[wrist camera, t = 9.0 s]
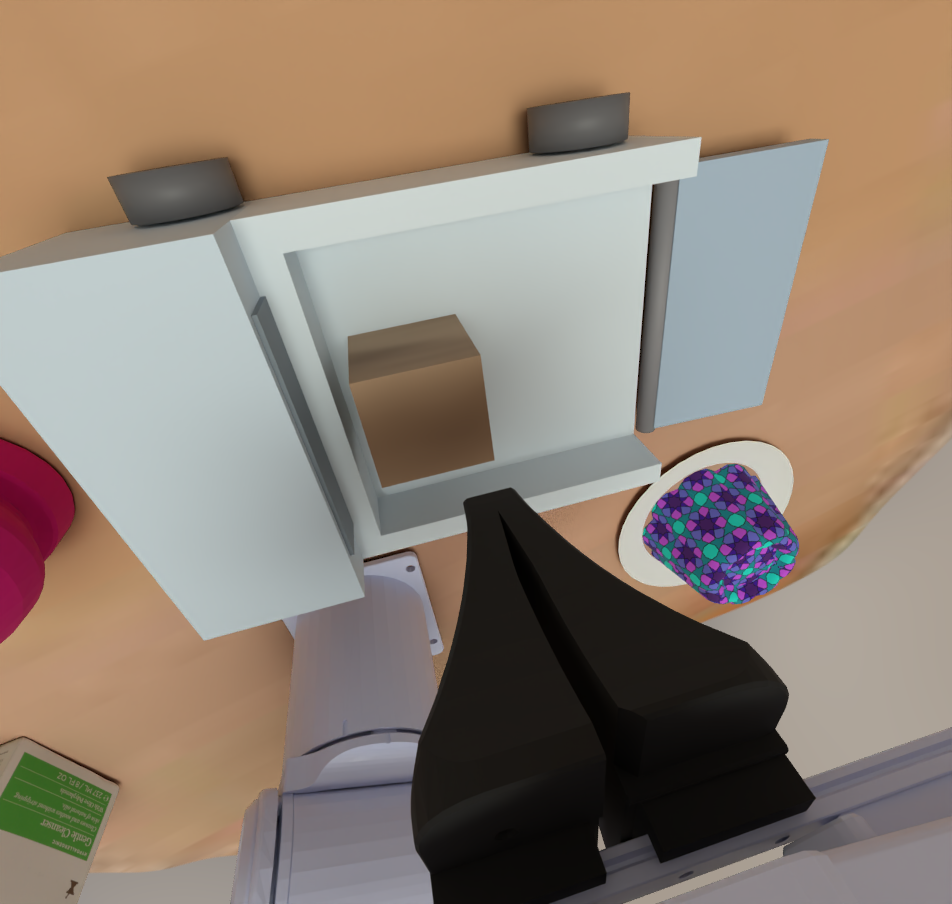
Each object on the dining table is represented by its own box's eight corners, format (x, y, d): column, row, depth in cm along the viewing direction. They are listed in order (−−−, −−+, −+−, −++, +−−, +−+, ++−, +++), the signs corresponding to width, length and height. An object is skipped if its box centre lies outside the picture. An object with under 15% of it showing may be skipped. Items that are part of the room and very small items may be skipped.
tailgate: (648, 159, 17) (664, 161, 16) (806, 132, 18) (830, 132, 17) (630, 422, 24) (640, 434, 23) (746, 397, 24) (761, 408, 24)
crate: (470, 407, 20) (494, 460, 17) (375, 429, 20) (381, 488, 16) (455, 313, 18) (480, 355, 14) (347, 336, 17) (348, 384, 14)
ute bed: (612, 450, 26) (681, 532, 21) (246, 542, 24) (219, 660, 18) (629, 91, 17) (759, 73, 12) (38, 187, 15) (-132, 219, 9)
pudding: (737, 570, 36) (790, 630, 31) (592, 585, 33) (629, 653, 28) (817, 432, 29) (898, 483, 25) (647, 435, 26) (706, 493, 22)
